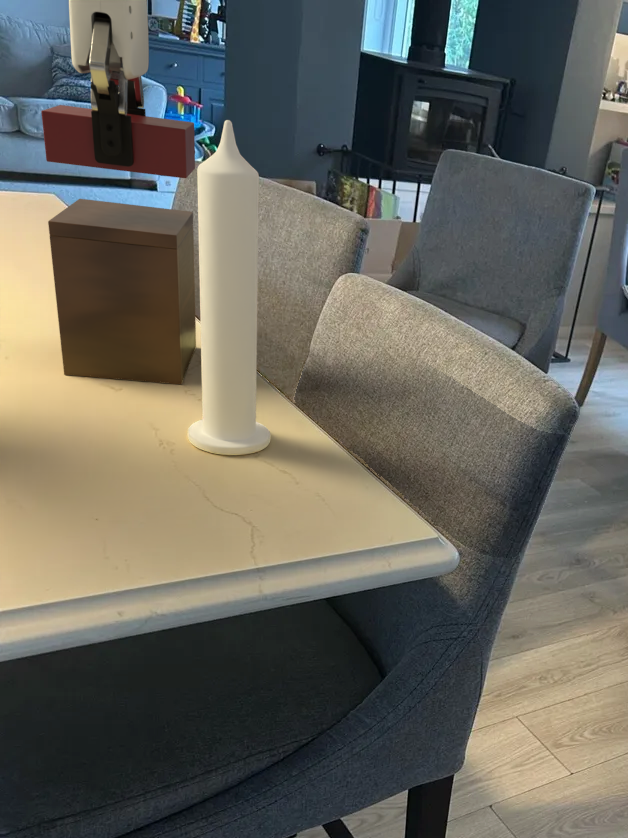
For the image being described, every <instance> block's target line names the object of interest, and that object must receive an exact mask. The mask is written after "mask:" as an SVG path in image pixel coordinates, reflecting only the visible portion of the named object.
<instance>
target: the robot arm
mask: <svg viewBox="0 0 628 838" xmlns="http://www.w3.org/2000/svg"><path fill="white" fill-rule="evenodd" d="M68 12H69V33H70V50H71V51H70V53H71V54H70V55H71V64H72V66H73V68H74V69H75V70H76V72H78V73H79V74H88V73H90V107H91V108H90V109H92V111H91V116H92V129H93V142H94V155H95V160H96V161H97V162H98V163H103V164H111V165H119V166H127V167H130V166H132V165H133V163H134V158H133V140H132V122H131V116H128V115H127V114H133V115H141V116H147V114H146V112H147V111H146V108H145V97H144V87H143V79H142V76H143V75H145V74H146V73H148V70H149V60H150V56H149V55H150V54H149V53H150V51H149V49H150V46H149V45H150V43H149V16H148V0H68Z"/></svg>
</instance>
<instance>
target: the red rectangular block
mask: <svg viewBox="0 0 628 838" xmlns="http://www.w3.org/2000/svg"><path fill="white" fill-rule="evenodd" d="M91 111H92V108H88V107H87V108H86V107H80V106H71V105H65V104H58V105H56V106H52V107H48V108H46V109H43V110H41V112H40V113H41V121H42V131H43V139H44V141H43V142H44V150H45V161H46V162H47V163H55V164H62V165H63V164H65V165H72V166H79V167H80V166H81V167H89V168H96V169H97V168H98V169H105V170H111V171H113V170H114V171H121V172H130V173H136V174H137V173H138V174H146V175H153V176H154V175H155V176H162V177H171V178H179V179H187V178H188V177H189V176H190V175H191V174H192V173H193V171H195V169H196V150H195V149H196V147H195V146H196V145H195V144H196V143H195V141H196V140H195V122H194V121H193V122H192V121H184V120H178V119H171V118H163V117H155V116H147V115H146V116H141V115H133V114H127V115H128V116H131V122H132V140H133V158H134V163H133V165H132V166H130V167H127V166H119V165H111V164H103V163H98V162H97V161H96V160H95V155H94V142H93V129H92V116H91Z"/></svg>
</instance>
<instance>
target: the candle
mask: <svg viewBox="0 0 628 838" xmlns="http://www.w3.org/2000/svg"><path fill="white" fill-rule="evenodd" d="M196 173H197V175H196V178H197V212H198V213H197V220H198V221H197V222H198V223H197V224H198V226H197V227H198V228H197V229H198V263H199V264H198V267H199V268H198V269H199V272H198V273H199V275H198V276H199V316H200V321H199V322H200V358H201V359H200V361H201V363H200V364H201V365H200V366H201V404H202V405H201V408H202V409H201V410H202V418H201V419H198V420H196V421H194V422H193V423H191V424H190V425H189V426H188V428H187V439H188V441H189V443H190V444H191V445H193V446H194V447H195V448H197V449H199V450H201V451H204V452H207V453H211V454H215V455H224V456H243V455H250V454H254V453H257V452H260V451H262V450H264V449H266V448H267V447H268V446H269V445H270V442H271V432H270V430H269V428H268V427H266V425H264V424H262V423H260V422H258V421H257V367H258V365H257V363H258V361H257V360H258V354H257V353H258V351H257V350H258V289H259V288H258V287H259V286H258V281H259V280H258V279H259V277H258V275H259V274H258V273H259V208H260V207H259V206H260V205H259V201H260V200H259V198H260V196H259V195H260V192H259V191H260V175H259V172H258V171H257V169H255V168H254V167H253V166H252V165H251V164H250V163H249V162H248V161H247V160H246V159H245V158H244V157H243V156H242V154H241V153H240V150H239V148H238V145H237V143H236V136H235V132H234V127H233V122H232V121H231V120H230V119H226V120H224V122H223V128H222V132H221V138H220V142H219V144H218V147H217V149H216V151H215V152H214V153H212V155H210V156H209V157H208V158H207V159H205V160H204V161H202V162H201V163H200V164H198V166H197V169H196Z"/></svg>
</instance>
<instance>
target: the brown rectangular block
mask: <svg viewBox="0 0 628 838" xmlns="http://www.w3.org/2000/svg"><path fill="white" fill-rule="evenodd" d="M47 225H48V233H49V244H50V254H51V265H52V272H53V281H54V291H55V300H56V311H57V321H58V330H59V339H60V348H61V350H60V351H61V358H62V368H63V375H65V376H75V377H87V378H98V379H99V378H101V379H111V380H122V381H125V380H126V381H136V382H147V383H159V384H170V385H182V384H183V382H184V379H185V376H186V373H187V371H188V370H189V369H188V368H189V366H190V364H191V361H192V358H193V356H194V354H195V351H196V348H197V332H196V331H197V330H196V329H197V327H196V326H197V325H196V321H197V320H196V284H195V244H194V243H195V242H194V241H195V240H194V239H195V237H194V212H193V211H188V210H181V209H172V208H163V207H154V206H145V205H138V204H128V203H120V202H112V201H103V200H96V199H86V198H78V199H77V200H76V201H74V202H72V203H71V204H70V205H68V206H67V207H66V208H64V209H63V210H62V211H60V212H58V213H57V214H56V215H55V216H54V217H52V218H50V219H49V220H48V221H47Z"/></svg>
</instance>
